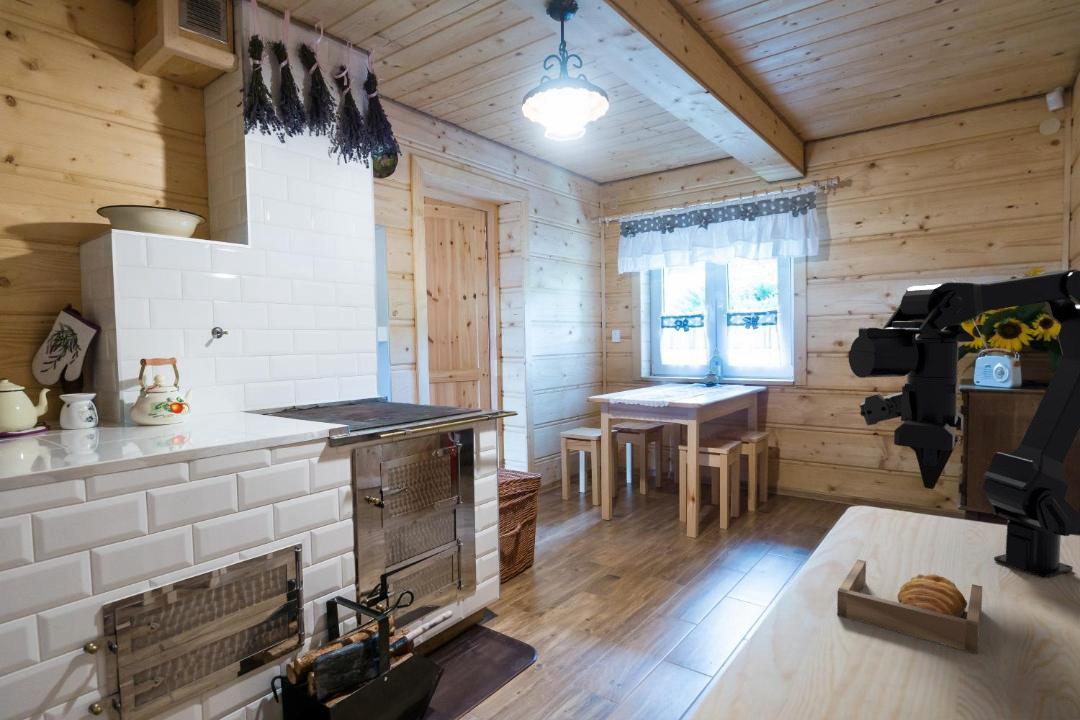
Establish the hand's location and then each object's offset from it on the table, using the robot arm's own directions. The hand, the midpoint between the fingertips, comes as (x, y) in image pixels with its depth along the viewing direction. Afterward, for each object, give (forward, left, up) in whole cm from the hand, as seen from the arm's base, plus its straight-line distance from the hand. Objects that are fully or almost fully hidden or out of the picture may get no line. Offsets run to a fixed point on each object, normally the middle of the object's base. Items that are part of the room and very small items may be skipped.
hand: (929, 487), depth 80 cm
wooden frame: (+12, +7, -12) cm, 18 cm away
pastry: (+10, +8, -12) cm, 18 cm away
